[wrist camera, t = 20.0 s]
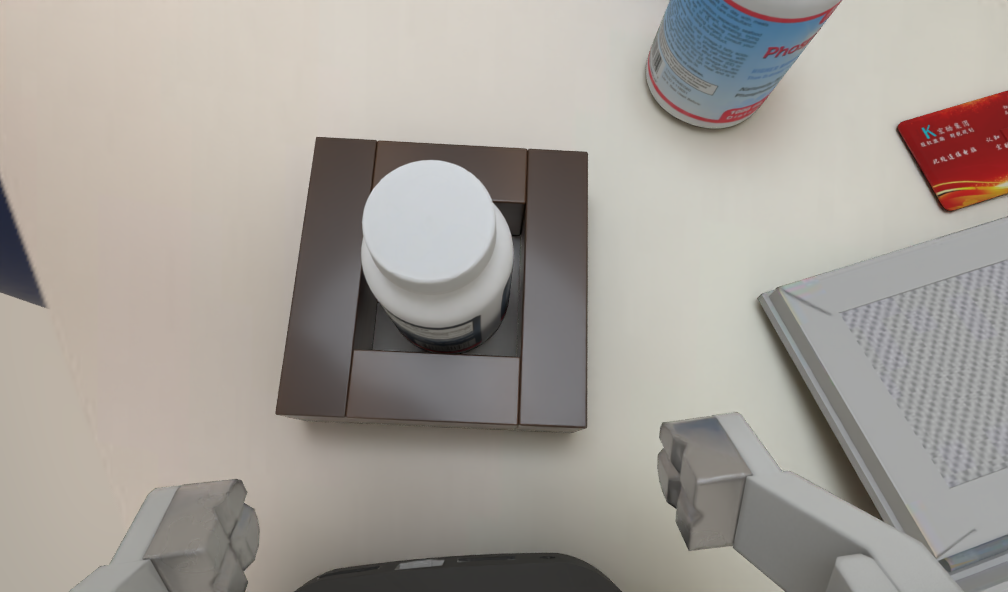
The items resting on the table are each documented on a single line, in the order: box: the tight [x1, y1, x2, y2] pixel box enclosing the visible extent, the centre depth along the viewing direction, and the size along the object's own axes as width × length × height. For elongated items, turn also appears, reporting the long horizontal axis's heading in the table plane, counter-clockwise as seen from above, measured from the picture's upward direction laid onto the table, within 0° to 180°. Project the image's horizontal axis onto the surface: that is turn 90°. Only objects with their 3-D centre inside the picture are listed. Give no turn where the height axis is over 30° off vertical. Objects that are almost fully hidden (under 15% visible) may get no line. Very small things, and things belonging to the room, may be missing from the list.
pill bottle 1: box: [361, 160, 514, 354], centre depth 21 cm, size 5×5×9 cm
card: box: [898, 91, 1008, 211], centre depth 28 cm, size 8×1×5 cm
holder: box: [276, 137, 588, 433], centre depth 24 cm, size 11×11×4 cm
